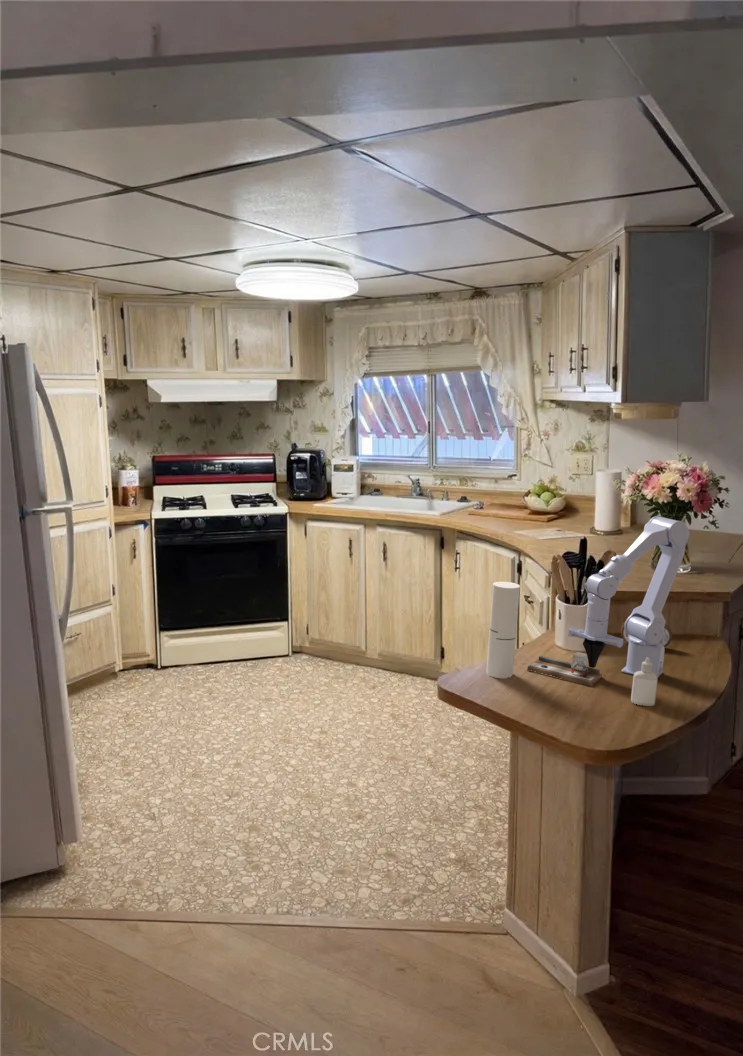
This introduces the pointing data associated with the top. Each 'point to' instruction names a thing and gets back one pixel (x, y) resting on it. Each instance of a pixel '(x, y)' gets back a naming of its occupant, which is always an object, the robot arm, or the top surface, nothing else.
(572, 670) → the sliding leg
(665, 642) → the tin
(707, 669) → the top surface
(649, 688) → the eye dropper bottle
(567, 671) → the gauge board
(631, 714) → the top surface
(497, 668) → the cylindrical container
